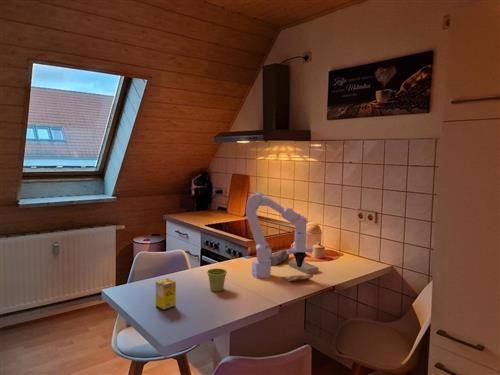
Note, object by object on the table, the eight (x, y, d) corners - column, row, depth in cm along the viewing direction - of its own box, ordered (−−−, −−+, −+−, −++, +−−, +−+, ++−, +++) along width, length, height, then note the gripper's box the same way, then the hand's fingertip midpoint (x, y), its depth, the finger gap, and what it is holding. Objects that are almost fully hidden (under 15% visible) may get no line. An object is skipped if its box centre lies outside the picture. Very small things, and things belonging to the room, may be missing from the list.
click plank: (292, 279, 183) (291, 277, 184) (285, 282, 189) (285, 279, 190) (313, 277, 188) (312, 274, 189) (306, 279, 194) (305, 277, 194)
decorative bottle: (276, 268, 212) (276, 256, 211) (264, 266, 216) (264, 254, 215) (295, 257, 234) (296, 247, 233) (284, 255, 238) (285, 245, 237)
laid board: (284, 282, 190) (284, 279, 190) (280, 279, 194) (280, 276, 194) (306, 279, 195) (306, 277, 195) (302, 276, 199) (302, 274, 199)
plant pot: (208, 293, 172) (208, 275, 171) (205, 286, 181) (205, 268, 180) (228, 292, 175) (228, 274, 174) (224, 285, 184) (224, 267, 183)
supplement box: (175, 307, 157) (176, 281, 156) (163, 311, 152) (164, 285, 151) (167, 302, 161) (167, 277, 160) (155, 306, 156) (155, 281, 155)
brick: (319, 274, 204) (319, 266, 204) (307, 277, 200) (308, 268, 199) (299, 266, 218) (299, 258, 217) (288, 268, 213) (288, 260, 213)
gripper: (291, 243, 183) (290, 270, 184) (316, 241, 189) (315, 267, 190) (284, 240, 189) (283, 266, 191) (309, 237, 195) (308, 263, 196)
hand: (299, 266), depth 191 cm, fingers closed
